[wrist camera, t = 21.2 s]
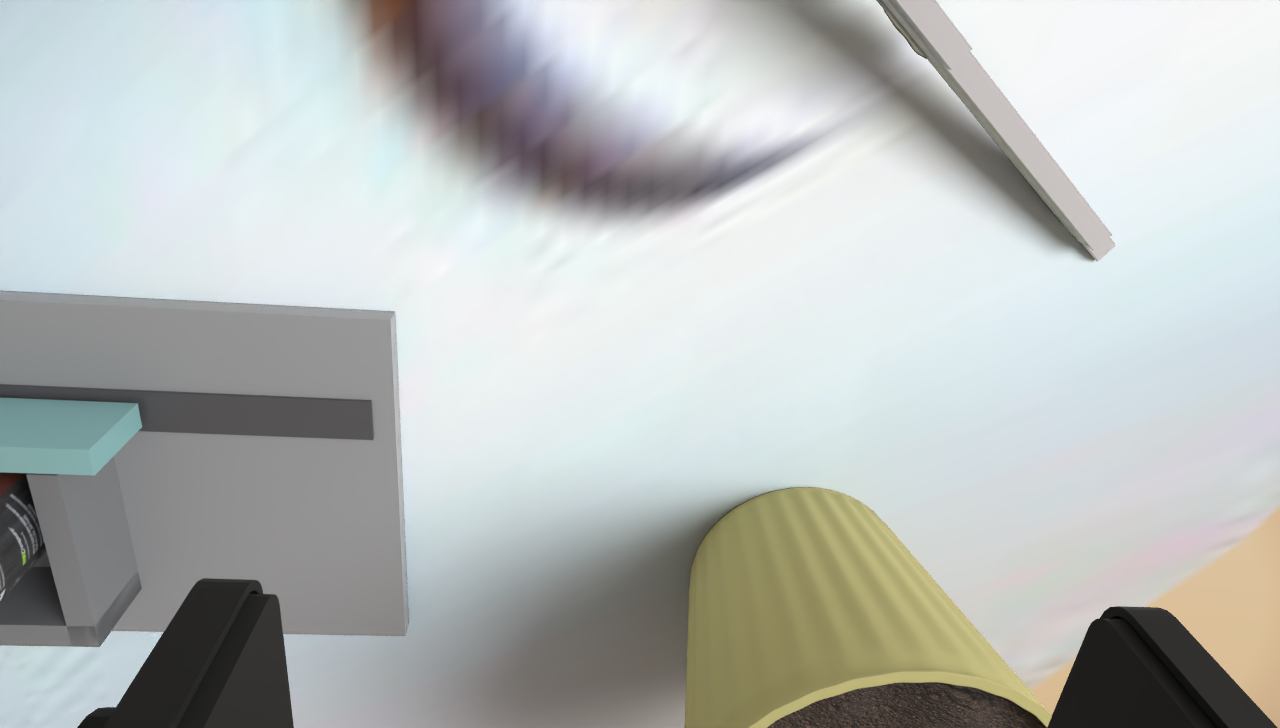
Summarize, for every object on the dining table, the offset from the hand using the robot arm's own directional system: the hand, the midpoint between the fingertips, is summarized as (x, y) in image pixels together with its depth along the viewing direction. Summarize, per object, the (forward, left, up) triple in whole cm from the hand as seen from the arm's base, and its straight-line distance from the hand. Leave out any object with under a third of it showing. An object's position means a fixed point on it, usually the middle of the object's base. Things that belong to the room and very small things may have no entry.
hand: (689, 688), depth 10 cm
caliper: (-4, +15, -29) cm, 33 cm away
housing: (+16, -22, -28) cm, 39 cm away
